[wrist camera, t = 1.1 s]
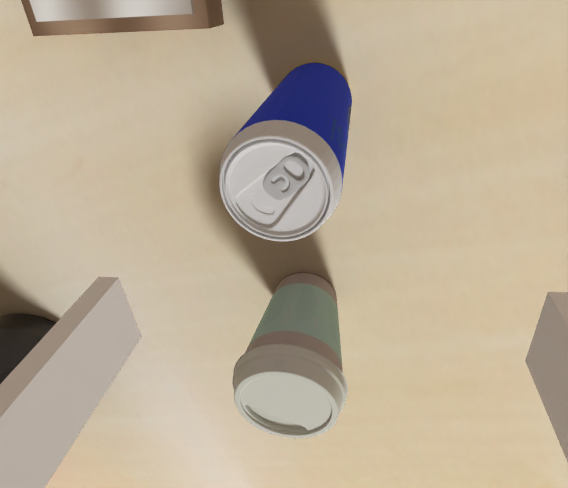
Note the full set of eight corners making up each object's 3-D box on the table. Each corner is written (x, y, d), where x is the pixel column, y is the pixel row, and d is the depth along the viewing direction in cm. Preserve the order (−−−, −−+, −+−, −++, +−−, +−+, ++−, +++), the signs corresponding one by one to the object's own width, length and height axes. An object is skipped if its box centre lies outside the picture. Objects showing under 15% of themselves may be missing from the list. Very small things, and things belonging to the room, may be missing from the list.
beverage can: (316, 151, 30) (282, 267, 18) (264, 102, 29) (188, 192, 16) (367, 99, 28) (369, 193, 15) (313, 43, 26) (266, 96, 14)
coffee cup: (244, 282, 38) (202, 386, 28) (319, 245, 35) (300, 350, 25) (295, 340, 41) (272, 452, 31) (368, 311, 38) (369, 428, 28)
